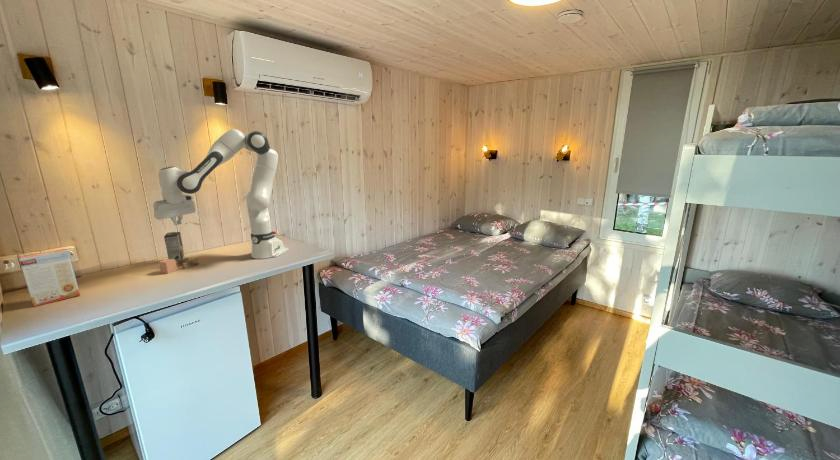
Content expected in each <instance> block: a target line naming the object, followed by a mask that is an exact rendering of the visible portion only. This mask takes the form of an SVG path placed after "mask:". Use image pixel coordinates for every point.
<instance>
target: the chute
mask: <svg viewBox="0 0 840 460" xmlns="http://www.w3.org/2000/svg"><path fill="white" fill-rule="evenodd" d="M197 265H199V259H198V258H195V259H192V260H189V257H186V258H185V257H184V259H181V260H178V261H176V266H177V268H178V267H181V266H182V267H183V270H185V269H189V268H191V267H195V266H197Z"/></svg>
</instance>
